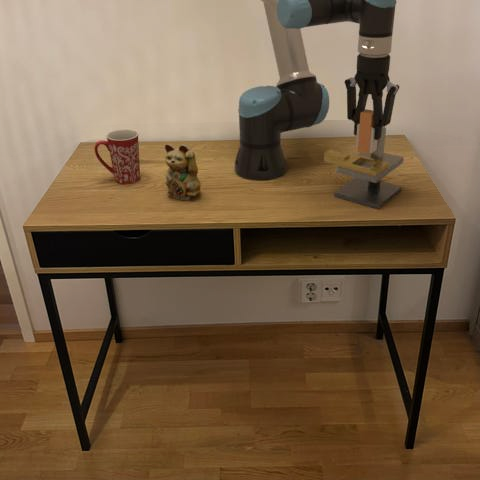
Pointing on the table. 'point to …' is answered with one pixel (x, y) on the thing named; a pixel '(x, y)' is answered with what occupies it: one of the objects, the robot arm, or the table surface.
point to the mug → (122, 155)
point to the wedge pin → (365, 130)
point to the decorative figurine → (181, 172)
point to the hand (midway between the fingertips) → (366, 149)
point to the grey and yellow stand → (366, 175)
